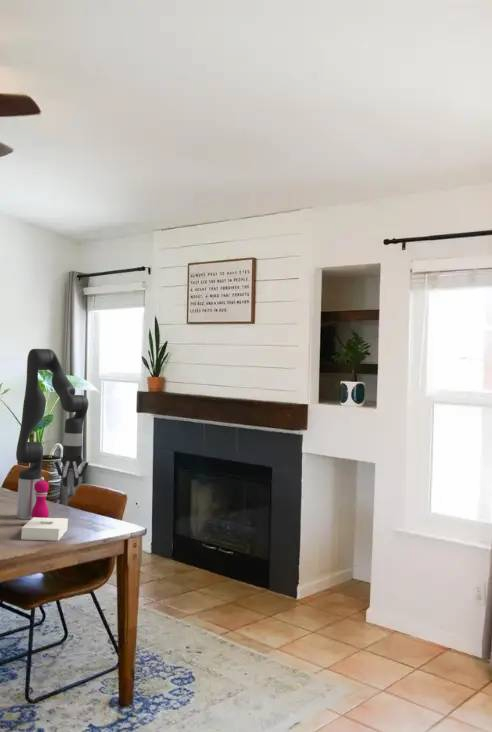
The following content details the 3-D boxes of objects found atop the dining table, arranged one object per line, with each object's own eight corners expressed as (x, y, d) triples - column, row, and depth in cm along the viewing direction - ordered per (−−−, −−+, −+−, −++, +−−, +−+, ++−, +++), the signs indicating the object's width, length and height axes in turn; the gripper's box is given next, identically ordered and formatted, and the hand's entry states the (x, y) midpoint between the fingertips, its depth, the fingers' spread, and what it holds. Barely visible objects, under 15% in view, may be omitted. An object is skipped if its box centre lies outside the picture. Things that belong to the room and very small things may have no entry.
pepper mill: (30, 526, 298) (33, 478, 299) (30, 522, 305) (33, 475, 306) (48, 526, 300) (51, 478, 301) (48, 522, 307) (50, 475, 308)
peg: (66, 493, 292) (67, 468, 292) (75, 493, 292) (76, 469, 292) (64, 494, 288) (66, 470, 288) (74, 495, 288) (75, 470, 288)
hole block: (32, 528, 295) (33, 517, 295) (67, 529, 296) (68, 518, 296) (21, 539, 275) (21, 527, 275) (58, 540, 276) (58, 528, 276)
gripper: (91, 443, 295) (89, 485, 295) (56, 442, 293) (54, 484, 293) (89, 445, 287) (87, 488, 287) (53, 444, 286) (51, 487, 286)
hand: (70, 486), depth 290 cm, fingers closed on peg, 3 cm apart
